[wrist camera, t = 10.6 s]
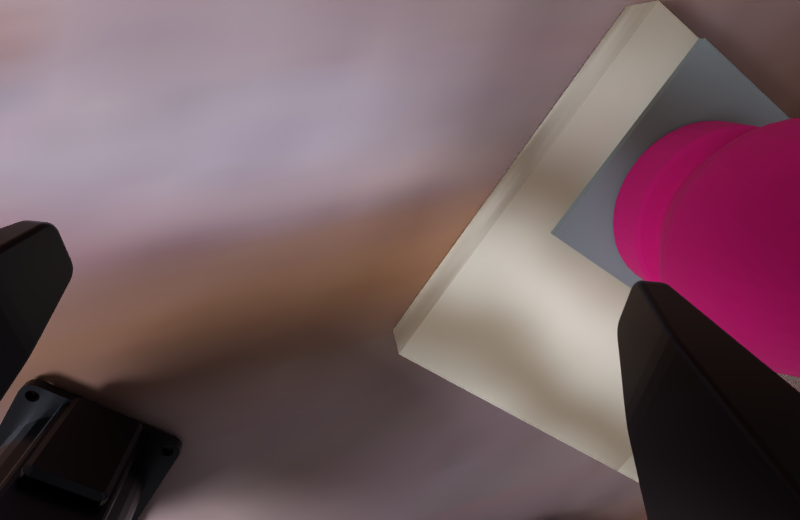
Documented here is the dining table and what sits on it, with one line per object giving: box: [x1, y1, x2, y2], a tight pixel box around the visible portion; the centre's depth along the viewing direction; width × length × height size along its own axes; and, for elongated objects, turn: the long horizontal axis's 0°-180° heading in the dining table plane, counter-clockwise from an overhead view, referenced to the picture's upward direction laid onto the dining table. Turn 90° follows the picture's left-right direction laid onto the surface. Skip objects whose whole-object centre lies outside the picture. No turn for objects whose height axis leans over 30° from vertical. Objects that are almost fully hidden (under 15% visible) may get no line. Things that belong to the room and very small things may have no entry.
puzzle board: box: [393, 0, 790, 483], centre depth 23 cm, size 15×22×2 cm
